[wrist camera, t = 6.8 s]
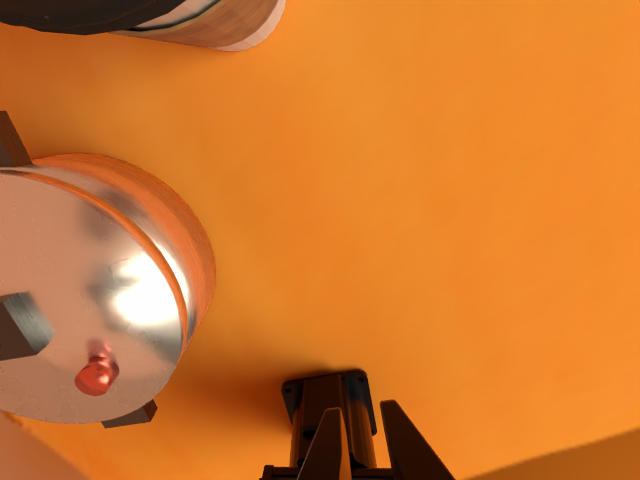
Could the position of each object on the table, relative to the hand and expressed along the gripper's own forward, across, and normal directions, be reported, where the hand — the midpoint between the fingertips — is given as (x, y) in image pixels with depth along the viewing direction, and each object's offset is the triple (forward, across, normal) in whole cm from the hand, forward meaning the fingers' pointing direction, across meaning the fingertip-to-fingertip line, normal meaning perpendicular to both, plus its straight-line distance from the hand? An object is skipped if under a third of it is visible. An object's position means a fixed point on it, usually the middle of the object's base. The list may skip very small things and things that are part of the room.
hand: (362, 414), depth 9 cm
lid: (+8, +16, -1) cm, 17 cm away
